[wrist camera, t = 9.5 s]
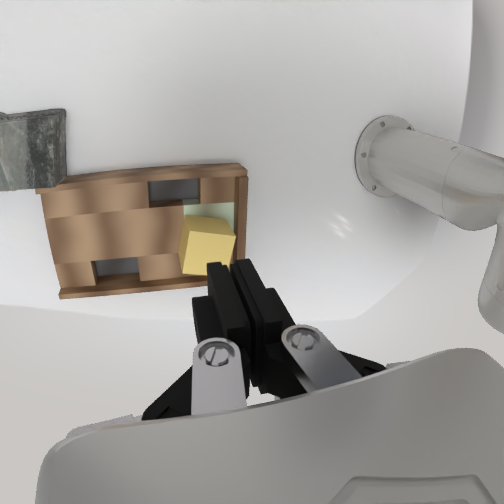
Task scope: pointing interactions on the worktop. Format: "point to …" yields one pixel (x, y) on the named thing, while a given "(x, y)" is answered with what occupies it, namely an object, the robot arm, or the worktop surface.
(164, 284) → the box
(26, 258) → the worktop surface
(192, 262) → the block
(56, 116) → the stone block
